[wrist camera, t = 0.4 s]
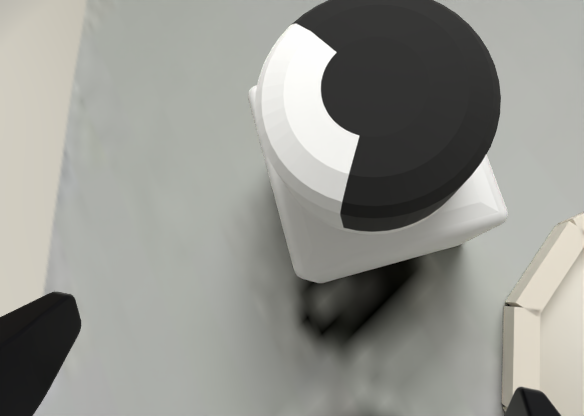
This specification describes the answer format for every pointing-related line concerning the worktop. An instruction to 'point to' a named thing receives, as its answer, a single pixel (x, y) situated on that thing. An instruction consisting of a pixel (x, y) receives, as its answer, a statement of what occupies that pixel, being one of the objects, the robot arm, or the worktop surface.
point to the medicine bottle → (378, 134)
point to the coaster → (549, 323)
